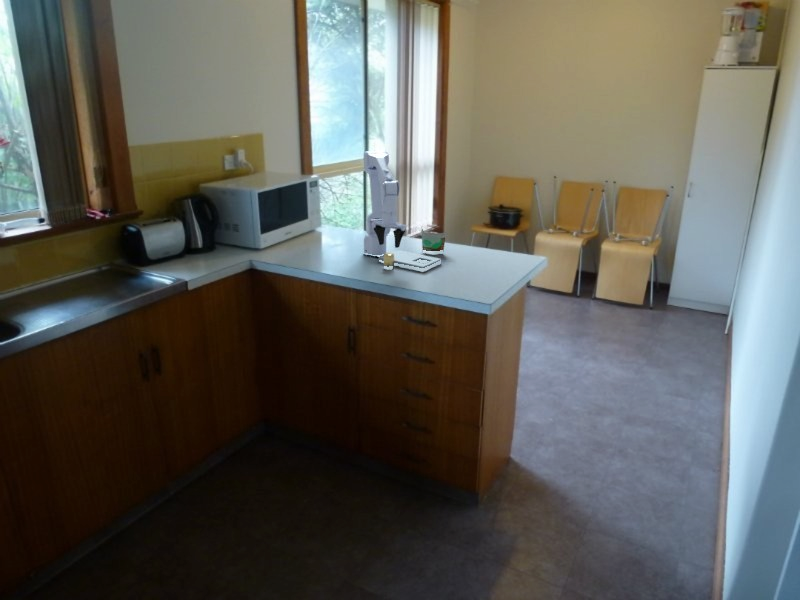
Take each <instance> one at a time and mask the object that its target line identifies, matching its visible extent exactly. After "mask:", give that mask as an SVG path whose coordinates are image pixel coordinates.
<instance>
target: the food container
mask: <svg viewBox="0 0 800 600" xmlns="http://www.w3.org/2000/svg"><path fill="white" fill-rule="evenodd" d="M447 235H448V234H447V232H446V231H445V232H437V231H429V230H428V231H427V230H424V229H423V228H421V230H420V234H419V236H421V243H422V244H421V246H422V251H423V250H426V251H440V250H443V251H444V249H445V242H446V238H447V237H448V236H447Z"/></svg>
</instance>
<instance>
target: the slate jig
mask: <svg viewBox="0 0 800 600" xmlns="http://www.w3.org/2000/svg"><path fill="white" fill-rule="evenodd" d="M390 253H392V254H394V263H398V264H404V265H409V266H414V267H419V268H425V267H427V266H430V265H432V264H434V263H436V262H438V261H440V260H441V261H442V258H439V257H434V256H431V255H426V254H419V253H414V252H409V251H405V250H402V249H401V250H399V249H397V250H394V251H390ZM419 259H421V260H427V261H429V262H427V263H425V264H424V263H420V262H415V261H417V260H419ZM379 260H382V261H384V255H383V256H380V257H379V258H378V261H379Z"/></svg>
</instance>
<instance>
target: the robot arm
mask: <svg viewBox="0 0 800 600" xmlns="http://www.w3.org/2000/svg"><path fill="white" fill-rule="evenodd" d="M389 162H390V154H389V151H387V150H379V151H377V150H376V151H375V150H374V151H367V150H366V151H364V153H363V169H364V173H367V174H368V177H369V188H370V189H369V190H370V202H371V204H370V205H371V213H369V215H367V216H366V219H365V232H366V234H365V236H364V238H363V253H368V254H372V255H382V254H385V253H387V237H388V235H389V234H390V232H391V229H393V231H392V232H393V235H394V237H393V238H394V248H395V249H398V248H400V246H401V242H402V238H403V236H404V235H405V233H406V231H407V225H406V224H402V223H400V222H398V219H397V218H398V196H399V194H400V184H399V180H396V179H395V178H394V176H393V174H392V171H391V170H390V169H388V166H389Z"/></svg>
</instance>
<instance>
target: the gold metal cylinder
mask: <svg viewBox="0 0 800 600" xmlns="http://www.w3.org/2000/svg"><path fill="white" fill-rule="evenodd" d="M383 265H384V266H387V267H389V266H393V265H394V254H392V253H391V252H386V253H385V254H384V264H382V266H383Z"/></svg>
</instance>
